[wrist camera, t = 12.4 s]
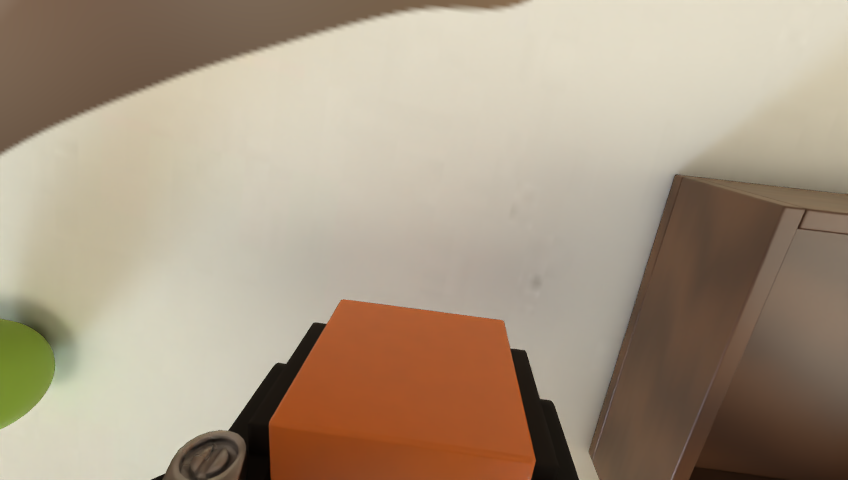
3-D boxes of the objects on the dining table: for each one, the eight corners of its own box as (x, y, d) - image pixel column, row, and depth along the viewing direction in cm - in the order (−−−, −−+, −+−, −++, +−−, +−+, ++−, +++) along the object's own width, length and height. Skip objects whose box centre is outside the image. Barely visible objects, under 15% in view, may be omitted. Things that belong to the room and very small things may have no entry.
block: (340, 297, 11) (266, 422, 7) (504, 318, 11) (538, 461, 6) (335, 426, 12) (272, 595, 8) (479, 446, 12) (492, 631, 8)
